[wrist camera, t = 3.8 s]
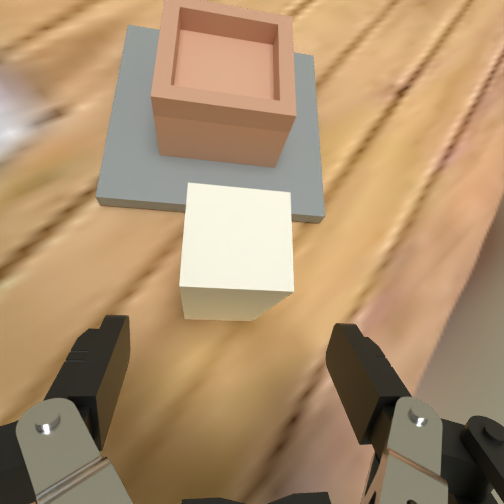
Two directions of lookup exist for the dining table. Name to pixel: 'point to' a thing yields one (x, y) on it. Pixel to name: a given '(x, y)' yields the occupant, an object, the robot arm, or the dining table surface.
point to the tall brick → (235, 252)
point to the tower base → (213, 111)
